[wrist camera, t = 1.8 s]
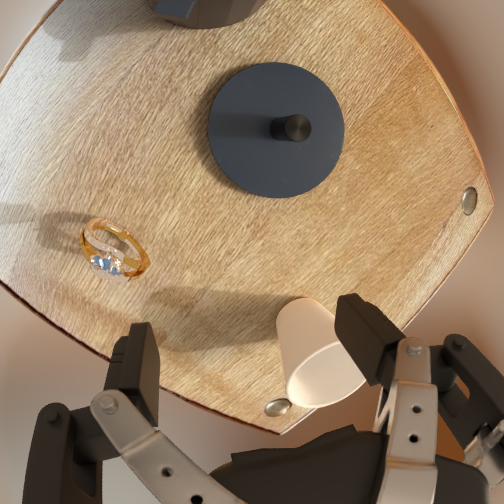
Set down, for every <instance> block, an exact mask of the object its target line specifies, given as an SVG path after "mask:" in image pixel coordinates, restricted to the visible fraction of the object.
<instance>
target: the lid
mask: <svg viewBox="0 0 504 504" xmlns="http://www.w3.org/2000/svg"><path fill="white" fill-rule="evenodd" d="M208 139H209V145H210V148H211V151H212V154H213V156H214V158H215V160H216V162H217V164H218V165H219V167H220V168H221V170H222V171H223V172H224V173H225V175H226V176H227V177H228V178H229V179H230V180H231V181H233V182H234V183H235V184H236V185H238V186H239V187H241V188H242V189H244V190H246V191H248V192H250V193H253V194H255V195H258V196H262V197H267V198H288V197H294V196H297V195H300V194H303V193H305V192H307V191H310V190H311V189H313V188H314V187H316V186H317V185H319V184H320V183H321V182H322V181H324V179H325V178H326V177H327V176H328V175H329V174H330V173H331V171H332V170H333V169H334V167H335V165H336V163H337V162H338V160H339V157H340V155H341V152H342V148H343V143H344V120H343V116H342V112H341V109H340V106H339V104H338V102H337V100H336V98H335V96H334V95H333V93H332V92H331V90H330V89H329V88H328V87H327V86H326V85H325V83H324V82H323V81H321V80H320V79H319V78H318V77H317V76H315V75H314V74H312V73H311V72H309V71H307V70H305V69H303V68H301V67H298V66H295V65H292V64H287V63H278V62H271V63H262V64H257V65H254V66H251V67H248V68H246V69H244V70H242V71H240V72H239V73H237V74H236V75H234V76H233V77H232V78H231V79H230V80H228V81H227V82H226V83H225V84H224V86H223V87H222V88H221V89H220V91H219V92H218V94H217V96H216V97H215V99H214V102H213V104H212V106H211V109H210V113H209V118H208Z"/></svg>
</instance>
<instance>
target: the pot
mask: <svg viewBox="0 0 504 504" xmlns="http://www.w3.org/2000/svg"><path fill="white" fill-rule="evenodd" d="M147 1H148V3H149V5H150V7H151V8H152V9H153V11H154V15H155V17H156V18H162V19H165V20H167V21H168V22H170V23H173V24H176V25H179V26H183V27H187V28H195V29H212V28H220V27H225V26H229V25H232V24H235V23H238V22H240V21H242V20H244V19H246V18H248V17H249V16H251V15H252V14H254V13H255V12H256V11H257V10H258V9H259V8H260V7H261V6H262V5H263V4H264V3H265V1H266V0H147Z"/></svg>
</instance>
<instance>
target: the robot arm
mask: <svg viewBox="0 0 504 504" xmlns="http://www.w3.org/2000/svg"><path fill="white" fill-rule="evenodd" d="M334 330H335V334H336V336H337V338H338V339H339V341H340V342H341V344H342V345H343V347H344V348H345V350H346V351H347V352H348V354H349V355H350V357H351V358H352V360H353V361H354V363H355V364H356V366H357V367H358V369H359V370H360V371H361V373H362V374H363V376H364V377H365V379H366V380H367V382H368V383H369V385H370V386H374V385H377V384H379V383H381V385H382V386H383V387H382V389H381V393H380V398H379V403H378V408H377V413H376V418H375V423H374V426H373V429H372V431H356V429H355V427H354V426H353V424H352V425H348V426H346V427H343V428H340V429H336V430H334V431H330V432H327V433H324V434H323V435H321V436H319V437H317V438H316V439H314V440H312V441H310V442H308V443H306V444H304V445H302V446H301V447H298V448H278V449H277V448H273V449H267V448H262V449H257V450H251V451H245V452H239V453H232V454H231V458H232V461H231V462H229V463H226V464H224V465H222V466H220V467H218V468H217V469H215V470H214V471H212V472H211V473H210V474H207V473H206V472H205V471H203V470H202V469H201V468H200V467H199V466H198V465H196V464H195V463H194V462H193V461H192V460H191V459H190V458H189V457H187V456H186V455H185V454H184V453H183V452H182V451H181V450H180V449H179V448H178V447H177V446H176V445H175V444H174V443H173V442H172V441H171V440H170V439H168V437H167V436H166V435H164V434H163V433H162V432H161V431H160V430H158V431H157V430H156V429H155V428H154V427H158V400H159V377H160V356H159V351H158V347H157V344H156V341H155V337H154V334H153V330H152V327H151V324H150V322H144V323H132V324H131V327H130V331H129V336H121V337H120V339H119V340H118V341H117V342H116V344H115V345H114V349H113V352H112V356H111V360H110V364H109V369H108V373H107V377H106V382H105V386H104V390H103V391H102V392H100V393H99V394H97V395H96V396H95V397H94V398H93V400H92V402H91V405H90V406H87V407H85V408H80V409H76V410H72V411H69V409H68V408H67V407H66V406H65V405H64V404H61V403H51V404H48V405H46V406H45V407H44V408H42V409H41V411H40V412H39V414H38V418H37V421H36V425H35V430H34V434H33V438H32V442H31V447H30V452H29V457H28V463H27V469H26V475H25V482H24V490H23V499H22V504H102V463H103V462H102V461H103V460H107V459H111V458H115V457H119V456H121V457H122V459H123V460H124V461H125V462H126V464H127V465H128V466H129V468H130V469H131V470H132V471H133V472H134V474H135V475H136V476H137V477H138V478H139V480H140V481H141V482H142V483H143V484H144V485H145V486H146V488H147V489H148V490H149V491H150V492H151V493H152V494H153V495H154V496H155V497H156V498H157V499H158V501H159V502H160V503H161V504H491V501H490V489H492V488H493V487H494V486H496V485H497V484H499V483H500V482H502V481H503V480H504V377H503V376H502V374H501V373H500V372H499V371H498V370H497V369H496V368H495V367H494V366H493V365H492V364H491V363H490V361H489V360H488V359H487V358H486V357H485V356H484V355H483V354H482V353H481V352H480V351H479V350H478V349H477V348H476V347H475V346H474V345H473V344H472V343H471V342H470V341H469V340H468V339H467V338H466V337H464V336H462V335H459V334H450V335H448V336H447V337H446V338H445V340H444V342H443V345H437V346H428V345H427V344H426V343H425V342H424V341H422V340H421V339H418V338H414V337H408V338H407V337H406V336H405V335H404V334H403V333H402V332H401V331H400V330H399V329H398V328H397V327H396V326H395V325H394V324H393V323H392V322H391V321H390V320H389V319H388V318H387V316H386V315H383V312H382V311H381V310H380V309H379V308H378V307H377V306H375V305H373V304H371V303H369V302H365V301H364V300H363V299H362V298H361V297H360V296H359V295H358V294H357V293H352V294H347V295H342V296H339V298H338V301H337V308H336V315H335V322H334ZM458 376H459V377H460V379H461V380H462V381H463V382H464V383H465V385H466V386H467V387H468V389H469V391H470V397H469V399H467V397H466V396H465V395H464V393H463V392H462V391H461V390H460V389H459V387H458V386H457V384H456V383H455V381H456V380H457V378H458ZM437 412H439V414H440V415H441V417H442V418H443V420H444V421H445V423H446V424H447V426H448V427H449V429H450V430H451V432H452V433H453V435H454V436H455V438H456V439H457V441H458V442H459V444H460V446H461V447H462V449H463V450H464V460H463V462H459V461H455V460H452V459H449V458H446V457H443V456H440V455H437V454H435V451H436V438H437V414H438V413H437Z"/></svg>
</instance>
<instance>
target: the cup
mask: <svg viewBox="0 0 504 504" xmlns="http://www.w3.org/2000/svg"><path fill="white" fill-rule="evenodd" d="M334 322H335V316H334V315H333V314H331V313H330V312H329V311H328V310H326V309H325V308H324V307H323V306H322V305H321V304H319V303H318V302H317V301H315V300H313V299H310V298H300V299H296V300H293V301H291V302H290V303H288V304H287V305H285V306H284V307H283V308H282V309H281V311H280V312H279V314H278V316H277V319H276V328H277V334H278V339H279V345H280V350H281V356H282V362H283V369H284V375H285V381H286V385H285V393H286V396H287V398H288V399H289V401H290V402H291V403H293V404H294V405H296V406H299V407H303V408H318V407H323V406H327V405H331V404H333V403H336V402H338V401H340V400H342V399H344V398H346V397H347V396H349V395H350V394H352V393H353V392H355V391H356V390H357V389H358V388H359V387H360V386H361V385H362V384H363V383H364V382H365V381H366V379H365V377H364V376H363V374H362V373H361V371H360V370H359V369H358V367H357V366H356V364H355V363H354V361H353V360H352V358H351V357H350V355H349V354H348V352H347V351H346V350H345V348H344V347H343V345H342V344H341V342H340V341H339V339H338V338H337V336H336V334H335V330H334Z"/></svg>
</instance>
